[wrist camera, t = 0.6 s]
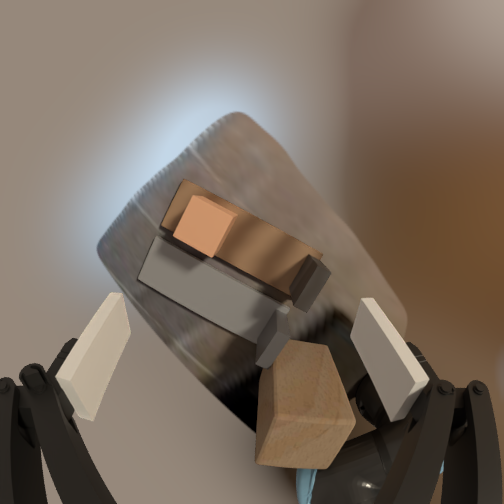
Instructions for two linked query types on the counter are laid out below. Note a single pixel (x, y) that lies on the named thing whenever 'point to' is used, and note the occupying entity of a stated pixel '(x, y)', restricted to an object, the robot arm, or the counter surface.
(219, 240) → the terracotta cube
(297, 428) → the wooden block
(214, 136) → the counter surface
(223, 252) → the walnut strip
